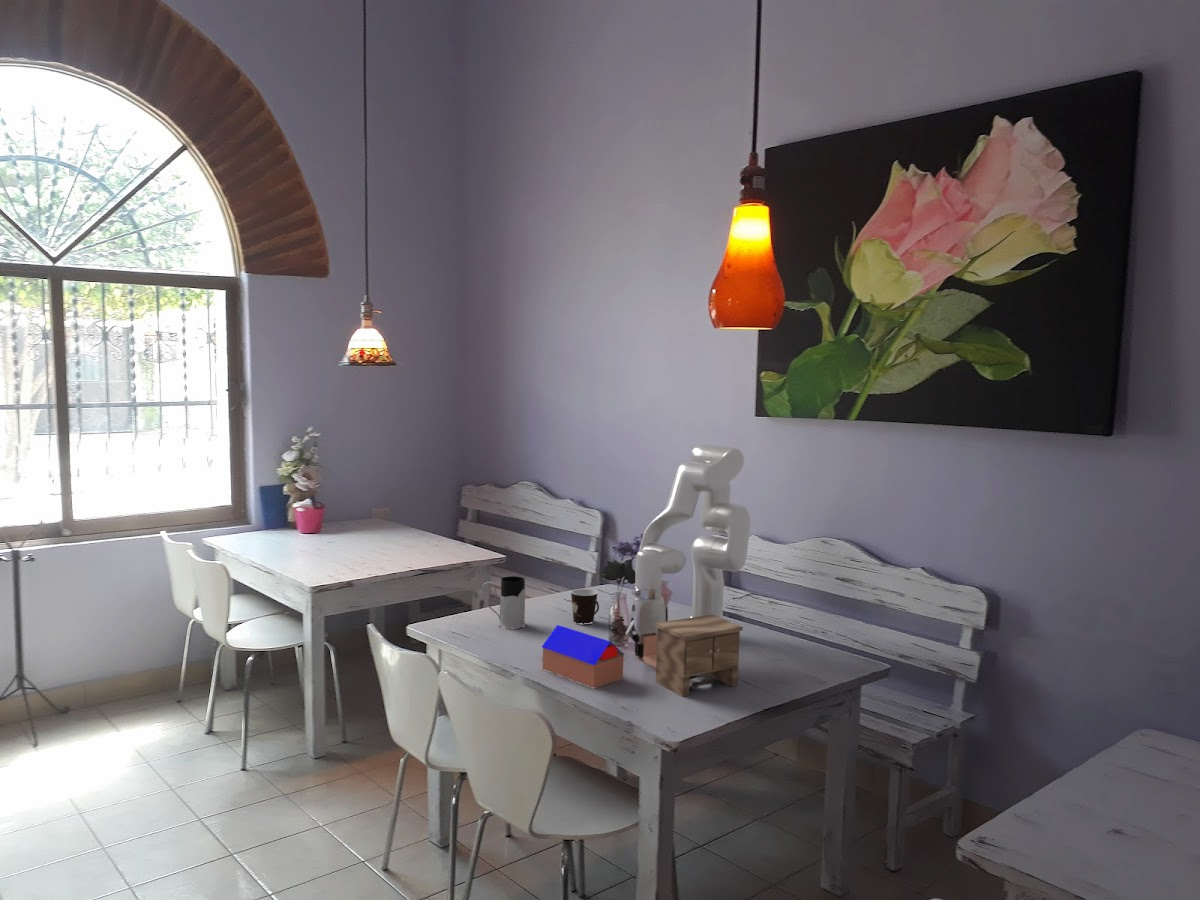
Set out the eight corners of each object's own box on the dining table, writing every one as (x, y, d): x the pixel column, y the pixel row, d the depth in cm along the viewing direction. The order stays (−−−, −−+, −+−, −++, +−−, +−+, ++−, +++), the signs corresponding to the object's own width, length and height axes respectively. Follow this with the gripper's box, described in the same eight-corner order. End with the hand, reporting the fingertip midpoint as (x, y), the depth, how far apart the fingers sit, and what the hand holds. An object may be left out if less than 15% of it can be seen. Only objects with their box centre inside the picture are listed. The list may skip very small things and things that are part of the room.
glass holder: (523, 629, 285) (525, 582, 283) (479, 627, 285) (479, 581, 284) (527, 621, 293) (528, 576, 292) (483, 620, 294) (484, 574, 292)
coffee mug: (568, 618, 298) (569, 589, 297) (594, 618, 300) (595, 588, 299) (573, 629, 287) (574, 598, 286) (600, 628, 288) (601, 597, 287)
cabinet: (653, 681, 241) (655, 622, 240) (709, 670, 251) (711, 614, 250) (683, 698, 230) (686, 637, 228) (741, 686, 240) (744, 627, 238)
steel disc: (684, 686, 240) (685, 680, 240) (701, 681, 243) (701, 676, 243) (700, 692, 235) (700, 686, 235) (717, 687, 238) (717, 682, 238)
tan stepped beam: (633, 656, 262) (634, 632, 261) (648, 653, 265) (648, 630, 264) (677, 679, 244) (678, 654, 243) (692, 676, 246) (693, 651, 246)
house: (571, 661, 257) (572, 620, 256) (624, 679, 243) (625, 636, 242) (540, 670, 248) (541, 629, 247) (593, 690, 235) (594, 646, 233)
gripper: (630, 599, 252) (628, 663, 254) (679, 593, 261) (677, 654, 262) (616, 593, 258) (614, 655, 260) (664, 587, 267) (662, 647, 269)
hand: (645, 654), depth 261 cm, fingers closed on tan stepped beam, 4 cm apart
